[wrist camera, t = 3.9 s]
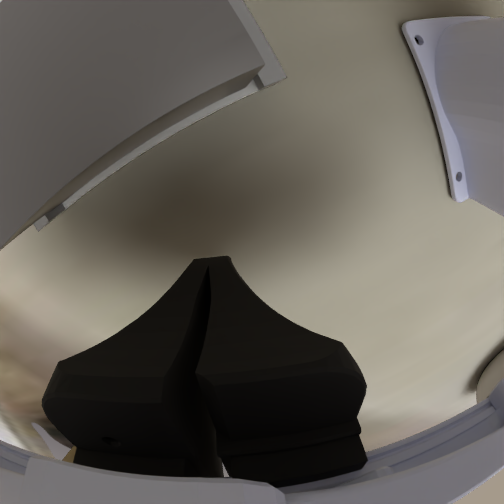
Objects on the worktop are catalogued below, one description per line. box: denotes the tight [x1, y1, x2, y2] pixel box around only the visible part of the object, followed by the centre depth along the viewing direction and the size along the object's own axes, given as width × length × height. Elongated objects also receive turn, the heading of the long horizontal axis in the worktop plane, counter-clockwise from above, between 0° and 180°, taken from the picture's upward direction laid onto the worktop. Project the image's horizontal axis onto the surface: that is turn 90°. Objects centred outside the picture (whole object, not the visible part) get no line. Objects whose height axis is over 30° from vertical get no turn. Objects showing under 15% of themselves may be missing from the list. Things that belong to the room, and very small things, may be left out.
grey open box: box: [0, 0, 265, 250], centre depth 6 cm, size 6×8×5 cm
